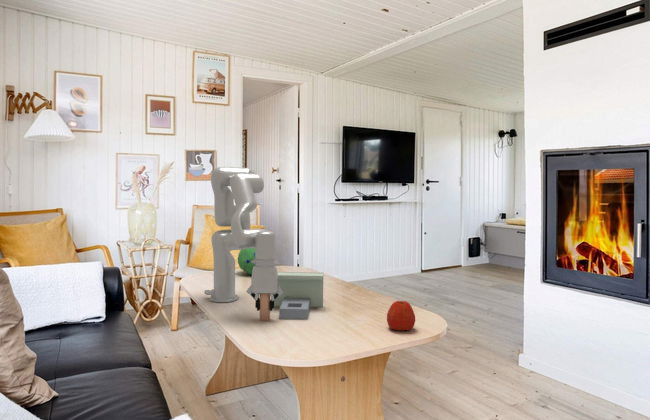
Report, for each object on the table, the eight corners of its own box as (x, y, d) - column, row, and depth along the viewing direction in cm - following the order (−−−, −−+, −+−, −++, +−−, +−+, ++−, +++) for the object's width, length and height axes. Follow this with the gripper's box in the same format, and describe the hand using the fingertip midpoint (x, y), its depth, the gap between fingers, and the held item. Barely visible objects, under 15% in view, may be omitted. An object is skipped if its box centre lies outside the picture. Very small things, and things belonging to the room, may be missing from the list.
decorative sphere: (266, 285, 254) (250, 270, 239) (241, 274, 264) (224, 259, 249) (282, 257, 261) (268, 241, 246) (258, 248, 271) (242, 232, 256)
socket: (279, 318, 170) (279, 308, 170) (284, 306, 187) (284, 297, 187) (307, 319, 170) (307, 309, 169) (310, 307, 187) (310, 297, 187)
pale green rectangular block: (270, 309, 183) (270, 275, 182) (272, 305, 190) (272, 271, 189) (322, 310, 182) (323, 275, 182) (323, 305, 189) (323, 272, 188)
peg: (258, 320, 167) (258, 289, 166) (260, 317, 171) (260, 287, 170) (269, 321, 167) (269, 290, 166) (270, 318, 171) (270, 287, 170)
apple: (396, 335, 153) (396, 305, 152) (381, 326, 162) (381, 298, 162) (420, 331, 157) (421, 302, 156) (404, 323, 166) (404, 296, 166)
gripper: (241, 264, 164) (241, 312, 165) (285, 265, 164) (285, 313, 165) (245, 261, 172) (245, 307, 173) (288, 261, 171) (287, 307, 172)
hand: (264, 309), depth 169 cm, fingers open, 4 cm apart
